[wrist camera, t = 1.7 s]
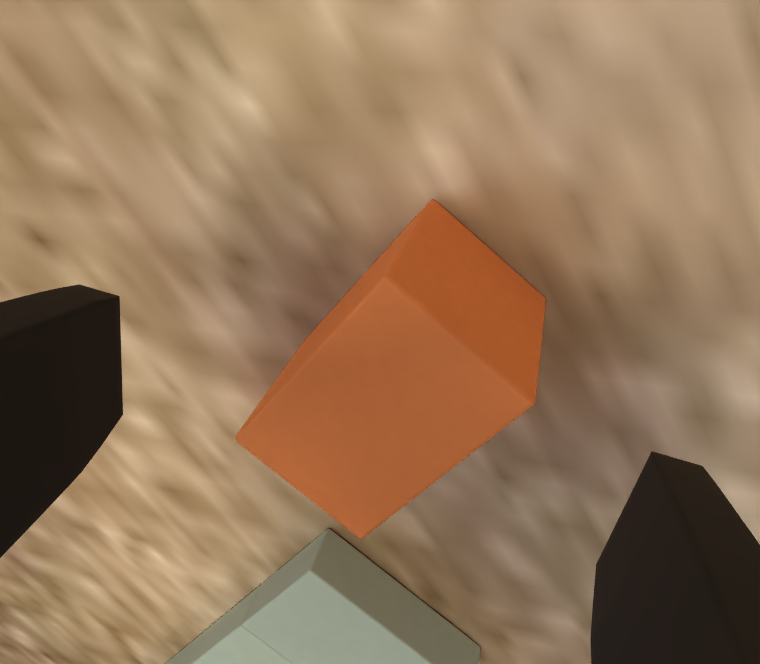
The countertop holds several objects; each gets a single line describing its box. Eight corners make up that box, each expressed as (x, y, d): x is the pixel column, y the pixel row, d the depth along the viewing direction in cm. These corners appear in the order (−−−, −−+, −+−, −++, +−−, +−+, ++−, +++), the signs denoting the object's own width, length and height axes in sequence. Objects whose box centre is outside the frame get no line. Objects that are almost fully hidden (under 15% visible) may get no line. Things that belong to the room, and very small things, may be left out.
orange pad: (547, 298, 18) (537, 404, 14) (339, 481, 23) (284, 600, 19) (433, 197, 18) (385, 274, 13) (245, 405, 22) (166, 510, 18)
